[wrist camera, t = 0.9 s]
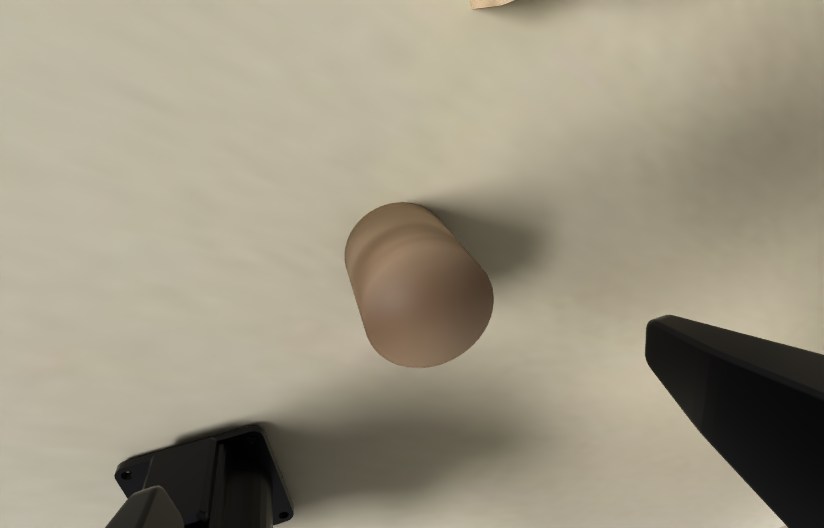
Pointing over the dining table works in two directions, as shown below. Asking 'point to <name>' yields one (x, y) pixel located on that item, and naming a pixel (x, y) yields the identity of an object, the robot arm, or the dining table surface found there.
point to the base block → (487, 3)
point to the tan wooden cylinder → (416, 286)
